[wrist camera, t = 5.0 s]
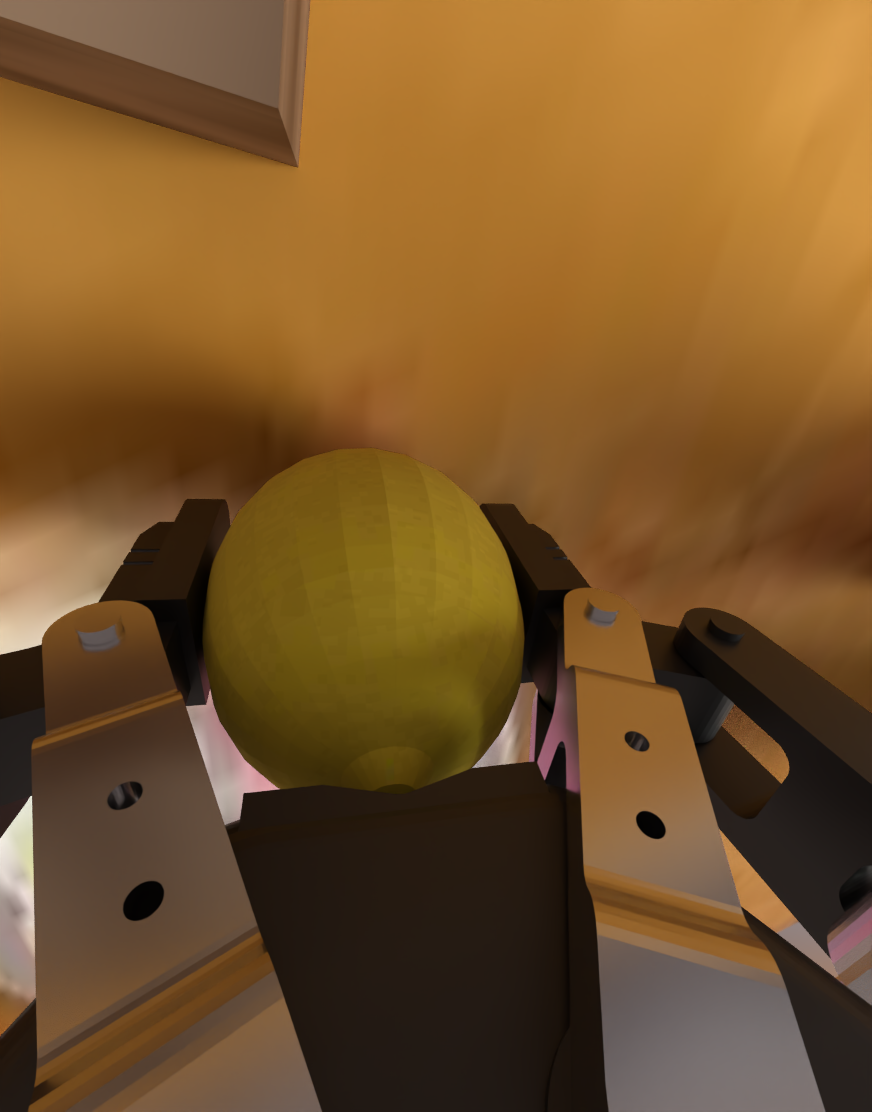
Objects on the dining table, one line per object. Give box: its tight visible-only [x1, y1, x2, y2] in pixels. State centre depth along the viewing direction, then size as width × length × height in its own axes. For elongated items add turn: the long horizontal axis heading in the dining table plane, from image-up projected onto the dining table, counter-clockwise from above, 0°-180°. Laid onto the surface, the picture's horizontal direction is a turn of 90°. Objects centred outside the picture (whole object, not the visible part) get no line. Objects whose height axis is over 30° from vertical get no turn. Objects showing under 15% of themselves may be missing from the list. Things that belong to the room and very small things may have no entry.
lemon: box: [202, 448, 524, 794], centre depth 9 cm, size 6×6×8 cm
